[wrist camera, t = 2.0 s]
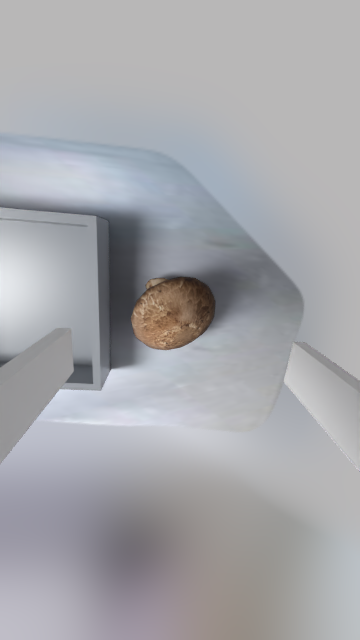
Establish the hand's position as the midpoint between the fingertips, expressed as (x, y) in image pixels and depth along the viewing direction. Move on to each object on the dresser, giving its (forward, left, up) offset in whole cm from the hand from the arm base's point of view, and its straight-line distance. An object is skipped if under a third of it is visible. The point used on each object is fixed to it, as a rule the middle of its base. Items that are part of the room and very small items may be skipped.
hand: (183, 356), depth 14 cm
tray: (-9, -11, -11) cm, 18 cm away
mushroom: (0, 0, -11) cm, 11 cm away
